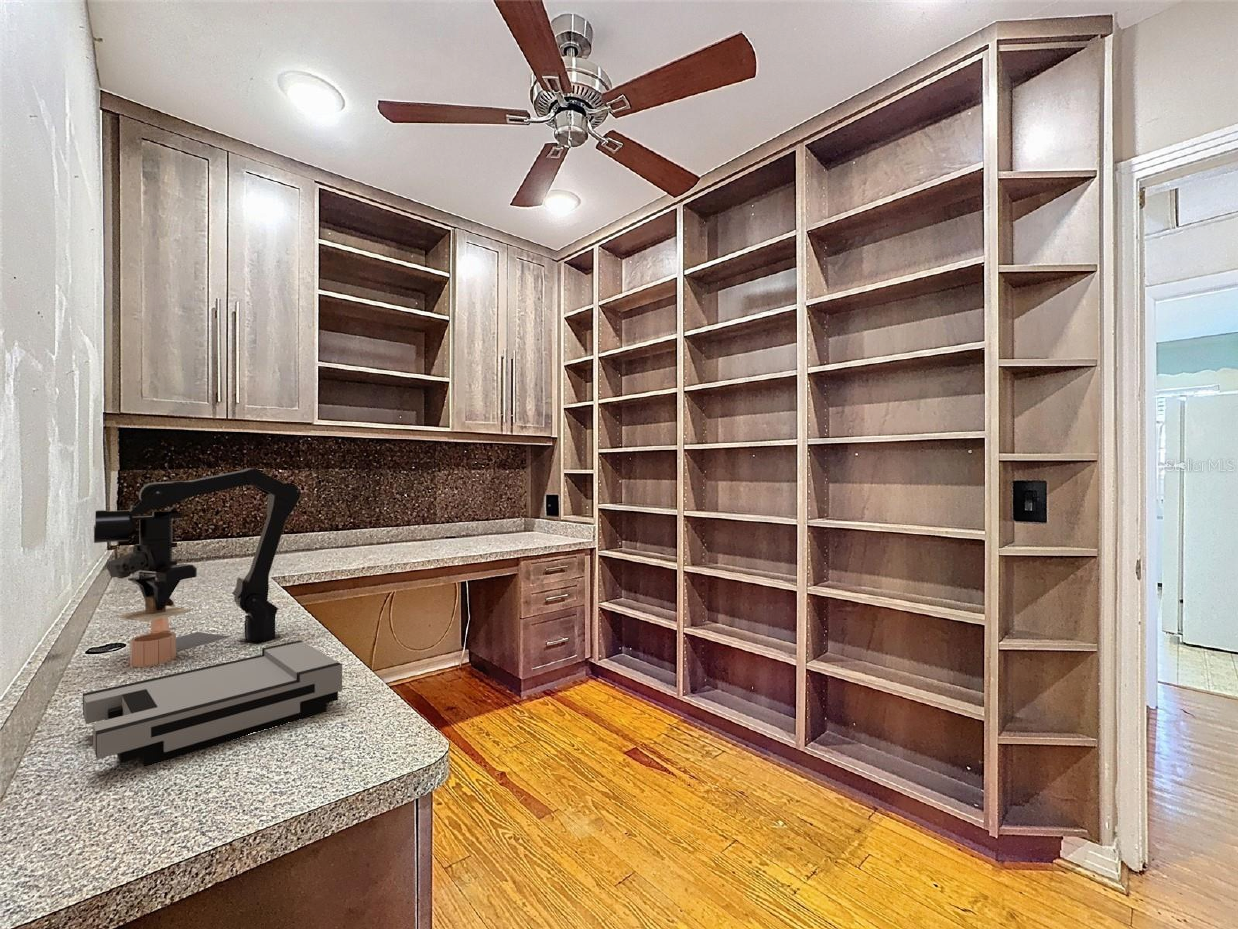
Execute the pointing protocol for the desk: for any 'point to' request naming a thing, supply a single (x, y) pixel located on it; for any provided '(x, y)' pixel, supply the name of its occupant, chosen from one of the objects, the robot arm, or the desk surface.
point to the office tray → (211, 703)
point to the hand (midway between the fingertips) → (155, 609)
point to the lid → (153, 611)
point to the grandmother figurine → (161, 621)
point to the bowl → (152, 649)
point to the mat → (196, 640)
